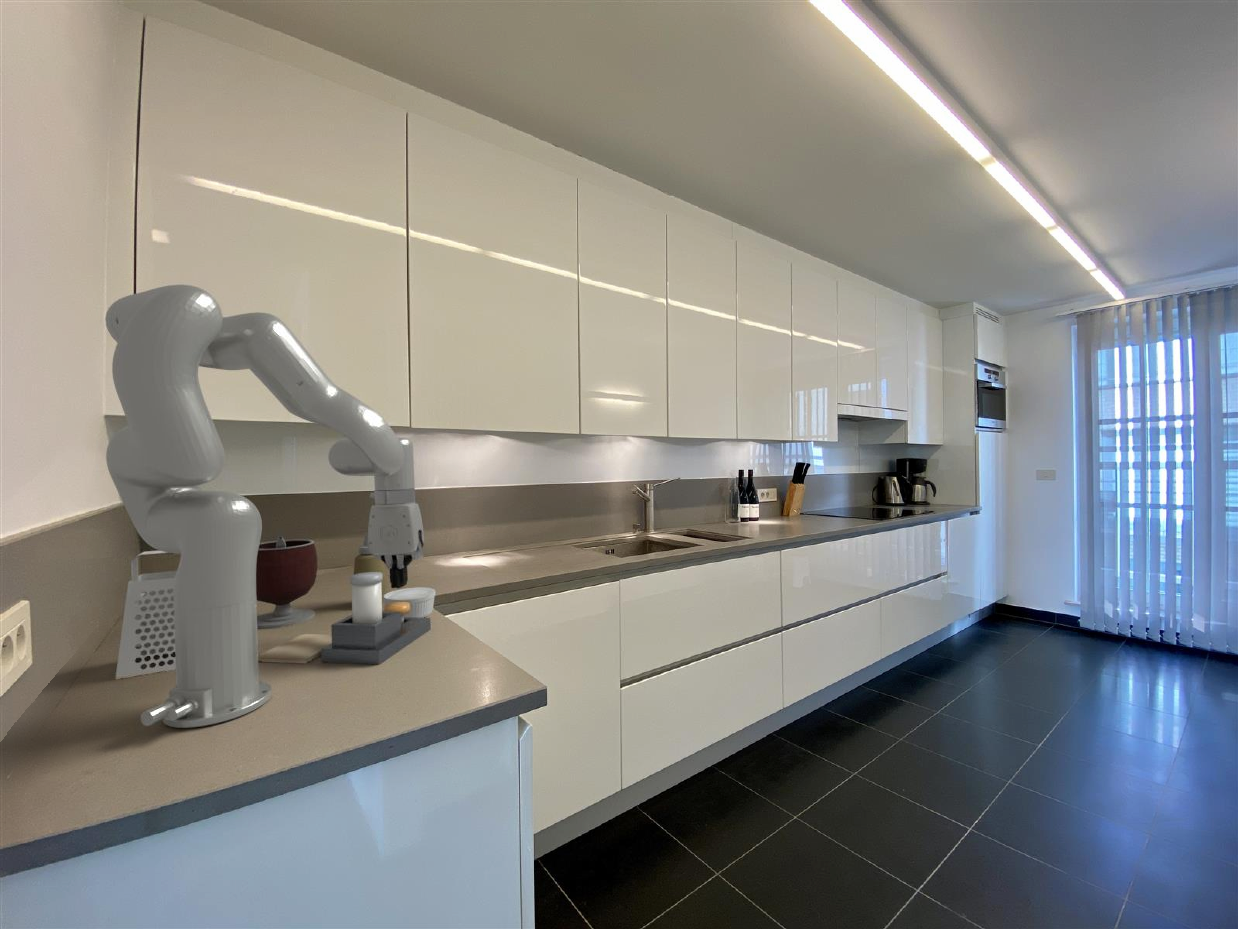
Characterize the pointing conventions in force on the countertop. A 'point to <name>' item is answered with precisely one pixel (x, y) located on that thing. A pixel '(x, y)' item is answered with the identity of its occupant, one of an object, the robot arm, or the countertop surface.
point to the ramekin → (413, 600)
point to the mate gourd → (285, 580)
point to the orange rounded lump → (398, 608)
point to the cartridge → (366, 597)
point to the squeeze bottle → (370, 564)
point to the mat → (297, 649)
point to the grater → (147, 621)
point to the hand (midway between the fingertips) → (399, 586)
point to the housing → (372, 638)
